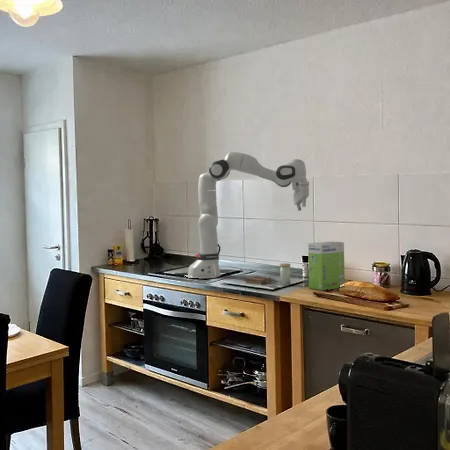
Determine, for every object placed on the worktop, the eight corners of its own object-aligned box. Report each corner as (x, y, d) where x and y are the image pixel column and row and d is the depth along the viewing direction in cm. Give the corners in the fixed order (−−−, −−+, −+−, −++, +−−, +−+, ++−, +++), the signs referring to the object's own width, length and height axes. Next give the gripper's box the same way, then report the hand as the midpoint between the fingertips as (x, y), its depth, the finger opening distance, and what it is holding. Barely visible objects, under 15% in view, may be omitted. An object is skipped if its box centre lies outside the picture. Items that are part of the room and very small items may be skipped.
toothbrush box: (330, 284, 283) (330, 240, 281) (345, 287, 274) (345, 242, 273) (307, 288, 272) (307, 243, 271) (322, 291, 264) (322, 244, 262)
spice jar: (282, 286, 280) (282, 265, 279) (278, 284, 286) (277, 263, 285) (292, 285, 282) (292, 264, 281) (287, 283, 288) (287, 263, 287)
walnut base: (260, 284, 287) (260, 280, 286) (246, 282, 293) (246, 278, 293) (270, 282, 294) (270, 277, 294) (256, 280, 301) (256, 276, 301)
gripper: (290, 191, 316) (292, 212, 313) (299, 181, 296) (301, 204, 293) (300, 190, 317) (302, 212, 314) (310, 181, 297) (312, 204, 294)
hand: (301, 208), depth 303 cm, fingers open, 8 cm apart
